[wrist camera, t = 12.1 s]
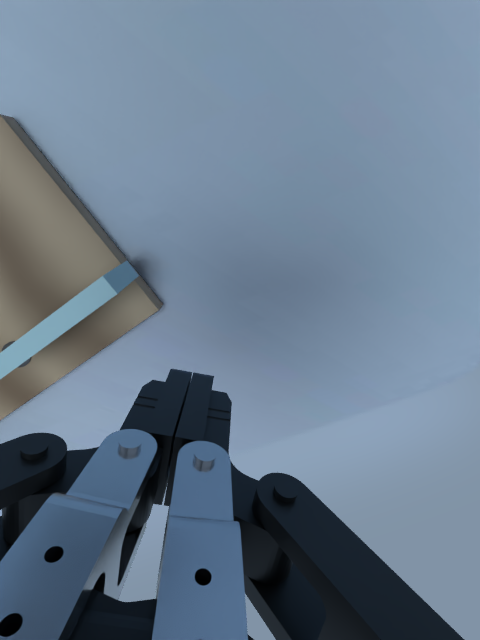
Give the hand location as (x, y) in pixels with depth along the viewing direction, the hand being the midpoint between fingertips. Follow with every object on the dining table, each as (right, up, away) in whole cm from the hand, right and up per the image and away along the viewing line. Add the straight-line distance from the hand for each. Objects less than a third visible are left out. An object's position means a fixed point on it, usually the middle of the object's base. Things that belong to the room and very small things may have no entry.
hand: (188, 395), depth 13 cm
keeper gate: (-8, +3, +10) cm, 13 cm away
